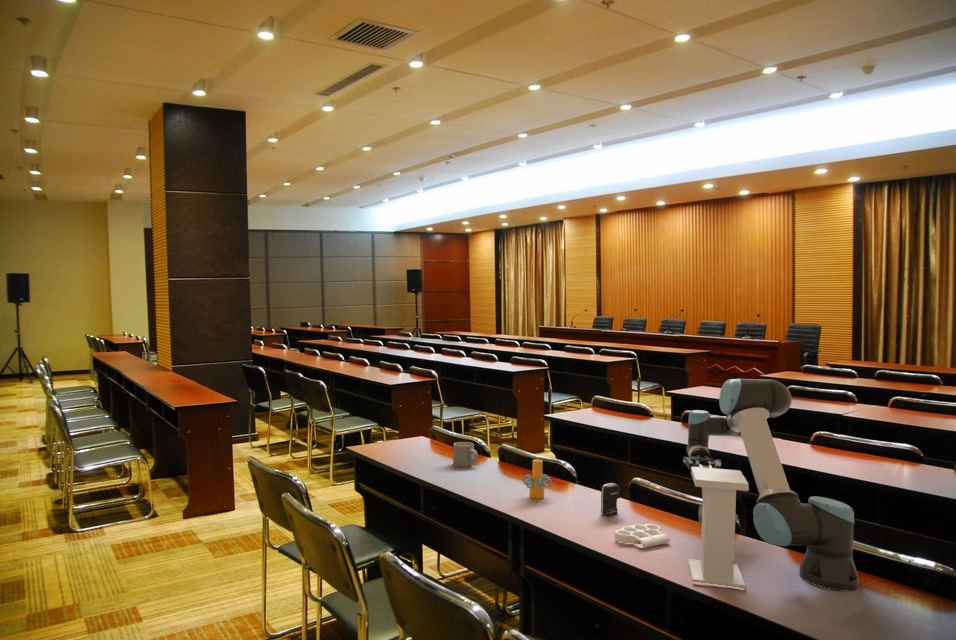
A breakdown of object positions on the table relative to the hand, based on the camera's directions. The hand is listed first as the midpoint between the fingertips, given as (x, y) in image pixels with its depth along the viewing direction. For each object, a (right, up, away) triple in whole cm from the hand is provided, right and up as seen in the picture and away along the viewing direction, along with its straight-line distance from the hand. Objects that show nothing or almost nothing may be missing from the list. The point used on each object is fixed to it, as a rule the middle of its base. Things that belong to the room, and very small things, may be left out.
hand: (706, 473), depth 214 cm
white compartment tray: (-22, -23, +1) cm, 32 cm away
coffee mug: (-83, -19, +95) cm, 127 cm away
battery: (-27, -22, +26) cm, 43 cm away
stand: (-7, -23, -28) cm, 37 cm away
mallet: (0, -8, 0) cm, 8 cm away
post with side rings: (-53, -21, +46) cm, 73 cm away
